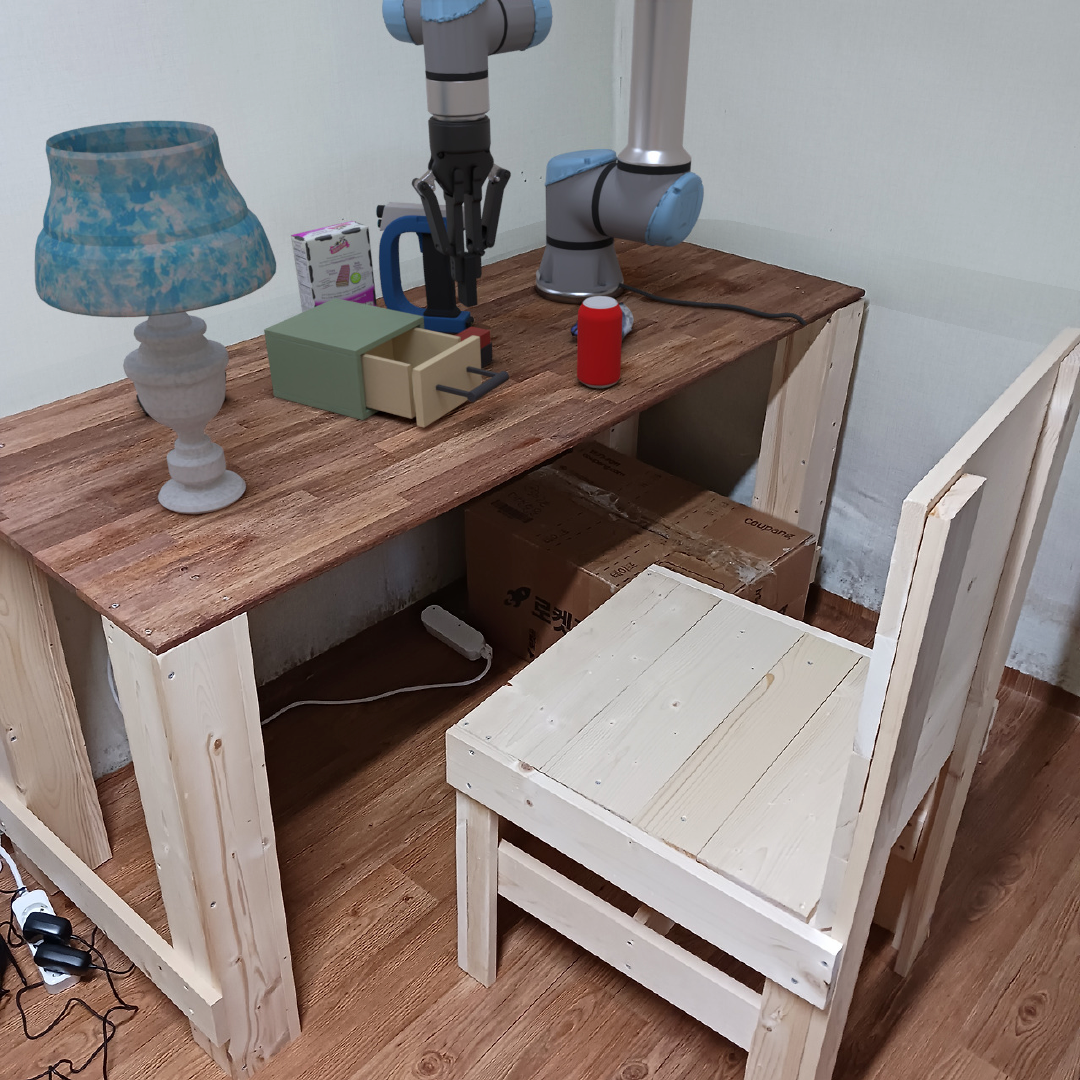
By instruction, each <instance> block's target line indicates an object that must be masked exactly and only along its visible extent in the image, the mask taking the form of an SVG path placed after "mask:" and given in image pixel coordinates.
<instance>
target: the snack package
mask: <svg viewBox="0 0 1080 1080" xmlns="http://www.w3.org/2000/svg"><path fill="white" fill-rule="evenodd" d="M601 296H603V295H601ZM618 304H619V305H620V307H621V310H622V340H624V338H625V337H626V336H627V335H628V334H629V333H630V332H631V331H632V330H633V328H632V326H633V324H634V320H635V319H634V316H633V313H632V310H630V308H629V307H628V306H626V304H625V303H624V302H622V301H621V302H618ZM570 334H571V337H576V338H577V336H578V319H577V320H576V322H575V323H574V324H573V325H572V326H571V327H570ZM572 342H575V340H572ZM622 344H623V342H622V343H621V345H622Z"/></svg>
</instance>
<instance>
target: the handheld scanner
mask: <svg viewBox="0 0 1080 1080" xmlns="http://www.w3.org/2000/svg"><path fill="white" fill-rule="evenodd" d="M439 207H440V210H441V214H442V217H443V221H444V224H445V228H446V231H447V221H446V204H439ZM462 207H463V228H464V231H465V216H464V205H462ZM375 213H376V214H375V215H376V217H377V218H378V219H377V223H376V224H377V228H379V232H382V231H383V232H382V234H381V237H380V241H379V245H378V248H379V249H378V250H379V251H378V267H379V268H378V269H379V270H378V271H379V281H380V290H381V295H382V299H383V303H384V305H385V308H386V309H390V310H395V311H400V312H405V313H409V314H414V315H419V316H423V317H424V329H426V330H431V331H435V332H440V333H445V334H459V333H460V332H462V331H464V330H466V329H468V328H469V327H473V324H474V323H475V318H474V316H472V314H471V311H470V310H469V311H468V310H461V308H459V306H458V305H457V293H456V292H457V291H456V290H457V289H456V281H455V280H453V279H452V277H451V263H450V256H449V255H448V256H447V255H444V254H443V253H441V252H439V251H437V250H436V248H435V245H434V242H433V238H432V235H431V231H430V228H429V225H428V221H427V218H426V214H425V211H424V208H423V204H422V203H415V202H413V203H412V202H397V201H396V202H395V201H394V202H393V201H389V202H388V203H387V204H378V205H377V206H376V209H375ZM406 233H415V235H416V236H417V239H418V245H419V252H420V253H421V254H422V266H423V267H422V268H423V280H424V288H425V289H424V290H425V298H426V299H425V300H426V307H424V308H423V307H419V306H417V305H415V304H413V303H412V302H410V301H409V300H408V298H407V296H406V295H405V293H404V290H403V286H402V277H401V264H400V238H401V235H402V234H406Z"/></svg>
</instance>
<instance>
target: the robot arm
mask: <svg viewBox="0 0 1080 1080" xmlns="http://www.w3.org/2000/svg"><path fill="white" fill-rule="evenodd" d="M693 3H694V0H633V13H632V14H633V16H632V37H631V58H630V59H631V60H630V81H629V83H630V84H629V106H628V125H627V127H628V129H627V144H626V146H625V147H624V148H623V149H622V150H621V151H620V152H619V153H618V154H617V152H616V151H615V150H613V149H611V148H593V149H581V150H576V151H575V150H574V151H569V152H564V153H560V154H558V155H554V156H553V157H551V158H550V159H549V160H548V162H547V164H546V168H545V181H544V187H545V249H544V251H543V255H542V258H541V262H540V264H539V267H538V268H537V269H536V272H535V276H536V277H535V292H536V293H537V294H538V295H539V296H541V297H542V298H545V299H547V300H550V301H553V302H558V303H566V304H577V305H578V304H580V305H582V303H583V301H584V300H586V299H587V298H590V297H595V296H601V295H603V296H606V297H611V298H613V299H615V298H617V297H619V296H621V294H622V293H623V292H624V290H627V291H629V292H633V293H635V294H638V295H641V296H643V297H646V298H648V299H651V300H653V301H658V302H661V303H665V304H672V305H680V306H690V307H699V308H700V307H701V308H716V309H717V308H718V309H727V310H735V311H740V312H744V313H747V314H751V315H755V316H758V317H763V318H768V319H783V318H784V319H785V318H790V319H794V320H796V321H798V322H799V323H800V325H803V326H807V325H808V323H807V322H806V320H805V319H804V318H803V317H802V316H800V315H799V314H797V313H793V312H779V313H777V312H776V313H770V312H764V311H762V310H761V311H760V310H757V309H752V308H749V307H746V306H742V305H737V304H730V303H720V302H703V301H692V300H683V299H674V298H667V297H663V296H659V295H657V294H656V295H655V294H652V293H650V292H647V291H645V290H642V289H640V288H637V287H633V286H631V285H628V284H625V283H624V276H623V274H622V269H621V265H620V262H619V258H618V256H617V251H616V249H615V239H619V240H625V241H630V242H634V243H635V242H636V243H640V244H646V245H647V246H650V247H655V246H658V247H665V248H673V247H675V246H678V245H680V244H681V243H683V242H684V241H685V240H686V239H687V238H688V236H690V234H691V232H692V231H693V229H694V227H695V226H696V224H697V222H698V219H699V217H700V214H701V211H702V207H703V203H704V196H705V195H704V194H705V192H704V191H705V189H704V185H703V180H702V177H701V176H700V175H698V174H697V173H695V172H692V170H691V168H692V155H690V154H689V152H688V151H687V150H686V149H685V147H684V133H685V131H684V130H685V117H686V115H685V114H686V103H687V102H686V101H687V89H688V88H687V87H688V75H689V63H690V62H689V61H690V45H691V33H692V32H691V31H692V17H693ZM381 4H382V5H381V13H382V19H383V23H384V25H385V28H386V30H387V32H388V33H389V35H390V36H391V37H392V38H393V39H395V40H396V41H398V42H400V43H401V42H402V43H407V44H408V43H409V44H412V45H415V46H423V55H424V64H425V65H424V66H425V67H424V68H425V70H424V71H425V91H426V107H427V112H428V114H430V115H432V116H430V117H429V119H428V121H427V126H428V140H429V150H430V158H429V162H428V164H427V171H426V172H425V173H424V174H423V175H422V176H420V178H418V177H414V178H413V179H412V180H411V186H412V187H413V189H414V191H416V193H417V194H418V196H419V197H420V200H421V204H423V208H424V211H425V214H426V218H427V221H428V225H429V228H430V231H431V235H432V238H433V242H434V245H435V248H436V250H437V251H439V252H441V253H443V254H444V255H447V256H448V255H449V256H450V263H451V277H452V279H453V280H455V283H457V298H458V299H457V302H459V303H460V304H461V305H463V306H465V308H472V307H476V306H478V286H477V285H478V282H477V279H481V278H482V274H483V270H482V267H483V266H482V257H483V256H484V255H485V254H486V251H485V250H487V249H492V248H494V246H495V243H496V239H497V233H498V226H499V222H500V221H499V220H500V215H501V210H502V203H503V198H504V191H505V189H506V187H507V185H508V183H509V181H510V178H511V176H512V174H511V171H510V170H508V169H506V168H504V167H501V166H499V165H498V164H495V159H494V157H493V155H492V152H491V145H492V137H491V118H490V117H489V116H488V115H487V113H488V112H489V111H490V110H491V107H490V105H491V104H490V83H489V81H490V80H489V57H490V56H495V55H499V54H506V53H511V52H525V51H526V50H529V49H531V48H534V47H536V46H539V45H540V44H542V43H543V42H544V41H545V40H546V39H547V37H548V35H549V34H550V32H551V29H552V25H553V8H552V4H551V0H382V3H381ZM487 179H488V182H487V185H486V189H485V194H484V201H483V208H482V200H483V186H484V184H485V182H486V181H487ZM435 182H436V183H437V184H438V186H439V187H440V188H441V189H442V195H443V199H444V202H445V205H446V221H447V231H446V228H445V224H444V221H443V217H442V214H441V210H440V207H439V205H440V203H439V201H438V198H437V195H436V193H435V191H436V184H435ZM462 206H464V216H465V230H464V228H463V207H462ZM464 232H465V233H464ZM465 248H466V250H467V251H465Z"/></svg>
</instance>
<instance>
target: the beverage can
mask: <svg viewBox="0 0 1080 1080" xmlns="http://www.w3.org/2000/svg"><path fill="white" fill-rule="evenodd" d="M577 320H578V336H576V338H577V345H576V377H577V379H578V381H579V382H580V383H581V384H583V385H585V386H586V387H589V388H592V389H607V388H610V387H611V386H613V385H615V384H618V382H619V380H620V379H621V371H622V370H621V369H622V368H621V367H622V344H623V339H622V310H621V307H620V305H619V302H618V301H617V300H616V299H615V298H611V297H606V296H595V297H590V298H587V299H586V300H584V301H583V303H582V304H580V306H579V307H578V310H577ZM621 343H622V344H621Z"/></svg>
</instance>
